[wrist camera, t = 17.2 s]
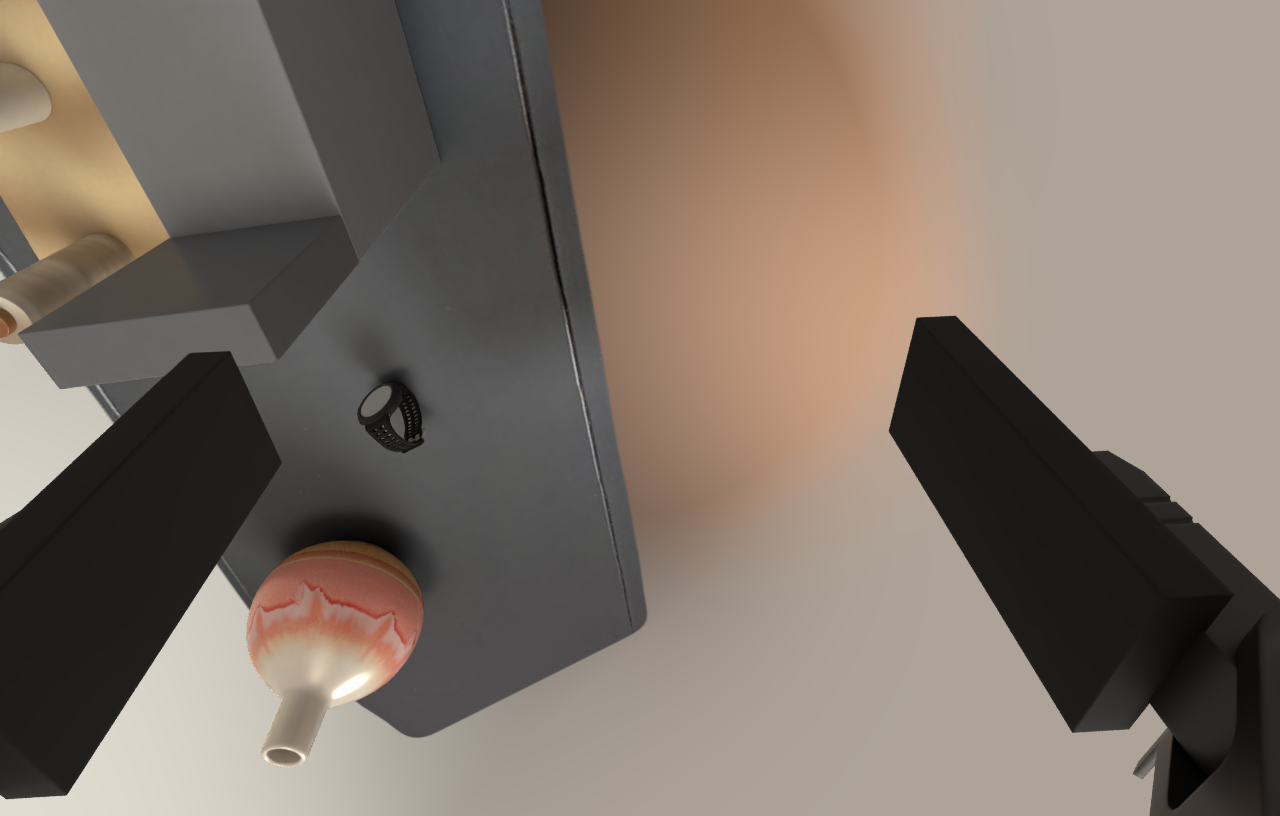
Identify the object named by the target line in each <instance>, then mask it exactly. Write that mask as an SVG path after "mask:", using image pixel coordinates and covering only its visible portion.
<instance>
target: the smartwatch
mask: <svg viewBox="0 0 1280 816" xmlns="http://www.w3.org/2000/svg"><path fill="white" fill-rule="evenodd" d="M401 391H402V392H401ZM404 393H407V394H406V395H403V394H404ZM407 396H410V397H409V398H408V399H406V397H407ZM410 399H412V401H411V402H408V401H409V400H410ZM401 400H404V401H401ZM403 403H406V404H405V405H402V404H403ZM412 403H414V405H413V406H410V404H412ZM414 406H415V409H413V410H412V407H414ZM398 407H399V408H400V410H401V412H402V416H403V419H404V424H405V434H404V439H403V438H401V437H400V436H399V435H398V434H397V433H396V432H395V431H394V429H393V428H392V426H391V423H390V417H391V416H392V414H393V413H394V412H395V411H396V409H397V408H398ZM404 407H408V408H406V409H404ZM406 410H409V412H407V413H406V412H405V411H406ZM415 410H417V412H415V413H414V414H413V412H414V411H415ZM407 414H410V416H406V415H407ZM416 414H417V416H416V417H414V415H416ZM357 415H358V420H359V423H360V424H361V425H365V429H366V431H367V432H368V433H369V434H370V435H371V436H372V437H373V438H374V439H375V440H376V441H377V442H378V443H380V444H381V445H382V446H383V447H385V448H386V449H388V450H390V451H394V452H402V453H406V452H408V451H410V450H412V449H414V448H416V447H418V446H420V445H421V444H423V443H424V436H425V429H424V428H421V426H422V416H421V411H420V407H419V404H418V402H417V400H416V398H415V397H414V396H413V394H412V393H411V392H410V391H408V390H407V389H406V388H405V387H403V386H402V385H401V384H399V383H398V382H396V381H392V382H389V383H385V384H381V385H379V386H377V387H376V388H374V389H373V390H372V391H371V392H369V393H368V395H367V396H366V397H365V398H364V399H363V401H362V403H361V404H360V407H359V408H358V413H357ZM410 417H411V419H410V420H408V418H410ZM417 418H418V419H417ZM415 419H417V420H416V421H415ZM411 421H412V422H411ZM408 422H411V423H410V424H408ZM416 422H418V423H416ZM415 423H416V424H415ZM382 425H384V428H382ZM410 425H411V426H410ZM408 426H410V427H408ZM415 426H416V427H415ZM410 428H411V429H410ZM375 429H377V431H375ZM409 429H410V430H409ZM415 429H416V430H415ZM385 430H388V431H387V432H385ZM422 431H423V433H422ZM409 432H410V433H409ZM379 433H380V435H378V434H379ZM389 434H392V435H391V436H388V435H389ZM415 436H416V437H415ZM393 437H394V438H395V439H393V440H392V438H393ZM420 437H421V438H420ZM380 438H385V439H380ZM411 438H412V439H411ZM397 440H399V441H398V442H396V441H397ZM386 441H389V442H386ZM384 442H386V443H384ZM400 443H401V444H400ZM390 444H391V445H390Z"/></svg>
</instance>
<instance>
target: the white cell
mask: <svg viewBox="0 0 1280 816" xmlns="http://www.w3.org/2000/svg"><path fill="white" fill-rule="evenodd" d="M51 109H52V103H51V99H50V96H49V93H48V91H47V90H46V88H45V87H44V85H43V84H42V83H41V81H40V80H39V79H38V78H37V77H36V76H34V75H33V74H32V73H31V72H29V71H28V70H26V69H24V68H22V67H20V66H18V65H15V64H11V63H0V133H2V132H5V131H9V130H12V129H16V128H20V127H23V126H27V125H30V124H34V123H37V122H41V121H43V120H45V119H46V118H48V116H49V115H50V113H51Z"/></svg>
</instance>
